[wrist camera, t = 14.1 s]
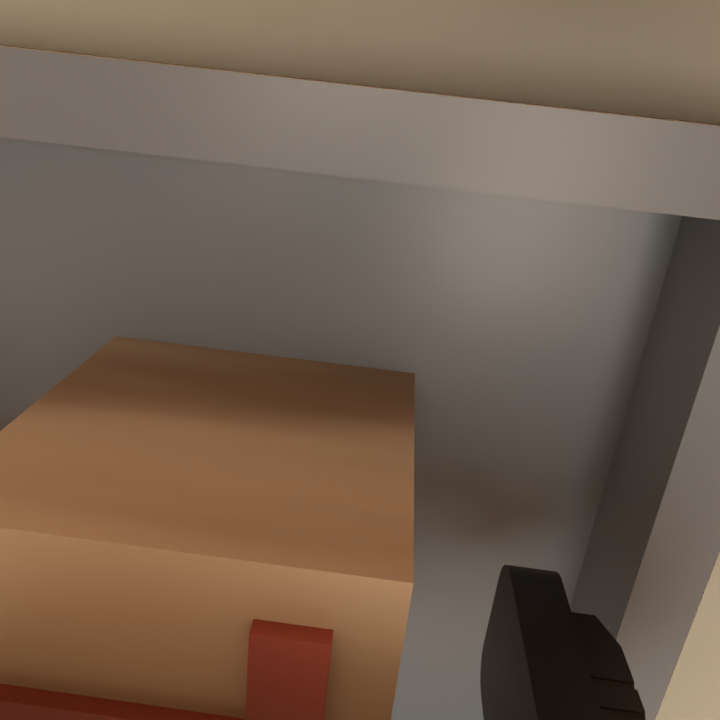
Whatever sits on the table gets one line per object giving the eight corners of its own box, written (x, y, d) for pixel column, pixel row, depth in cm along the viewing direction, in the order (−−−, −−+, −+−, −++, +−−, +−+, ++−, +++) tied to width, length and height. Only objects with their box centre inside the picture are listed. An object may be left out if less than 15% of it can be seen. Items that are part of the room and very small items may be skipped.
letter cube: (115, 335, 11) (-115, 525, 6) (414, 372, 11) (412, 598, 6) (125, 574, 13) (-45, 860, 8) (380, 609, 13) (359, 922, 8)
